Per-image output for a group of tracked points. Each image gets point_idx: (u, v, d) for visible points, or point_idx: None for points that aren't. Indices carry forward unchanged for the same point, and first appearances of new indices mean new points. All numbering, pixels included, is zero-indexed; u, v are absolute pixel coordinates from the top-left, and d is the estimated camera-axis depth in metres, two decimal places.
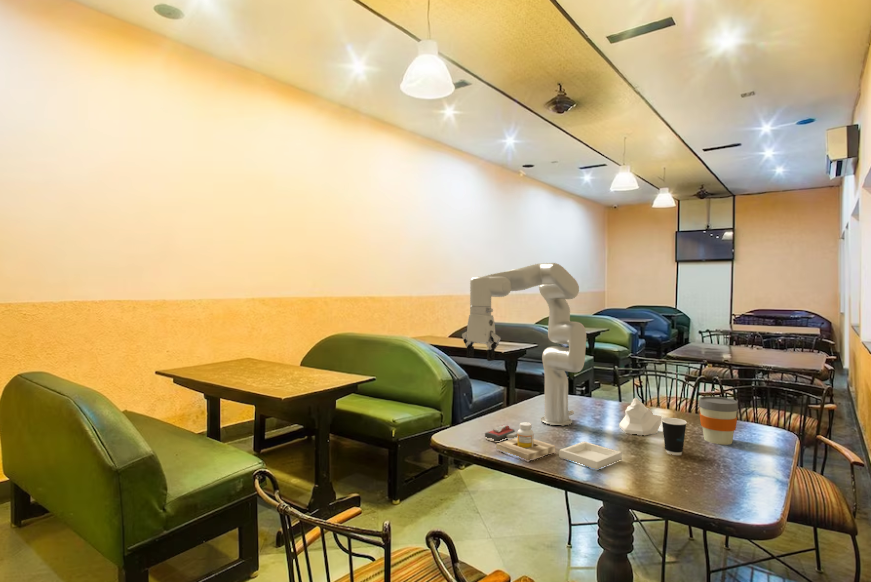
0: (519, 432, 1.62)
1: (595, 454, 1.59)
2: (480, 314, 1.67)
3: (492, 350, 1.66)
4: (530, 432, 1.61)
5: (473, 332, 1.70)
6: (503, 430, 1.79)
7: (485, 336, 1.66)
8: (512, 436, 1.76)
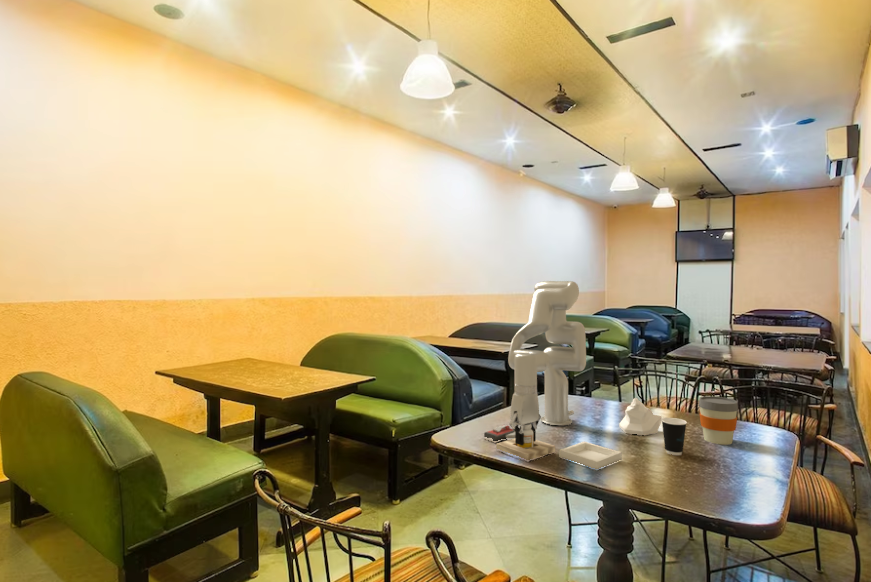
0: None
1: (595, 454, 1.59)
2: (536, 392, 1.63)
3: None
4: (530, 432, 1.61)
5: (528, 413, 1.61)
6: (503, 430, 1.79)
7: (538, 413, 1.64)
8: (511, 436, 1.76)
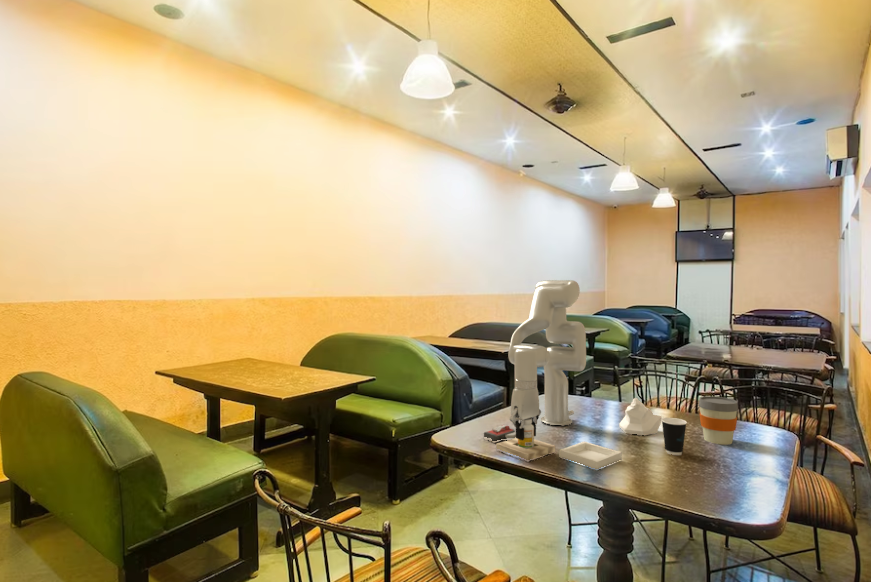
0: None
1: (595, 454, 1.59)
2: (536, 387, 1.63)
3: None
4: (530, 427, 1.62)
5: (528, 408, 1.61)
6: (503, 430, 1.79)
7: (538, 408, 1.65)
8: (511, 436, 1.76)
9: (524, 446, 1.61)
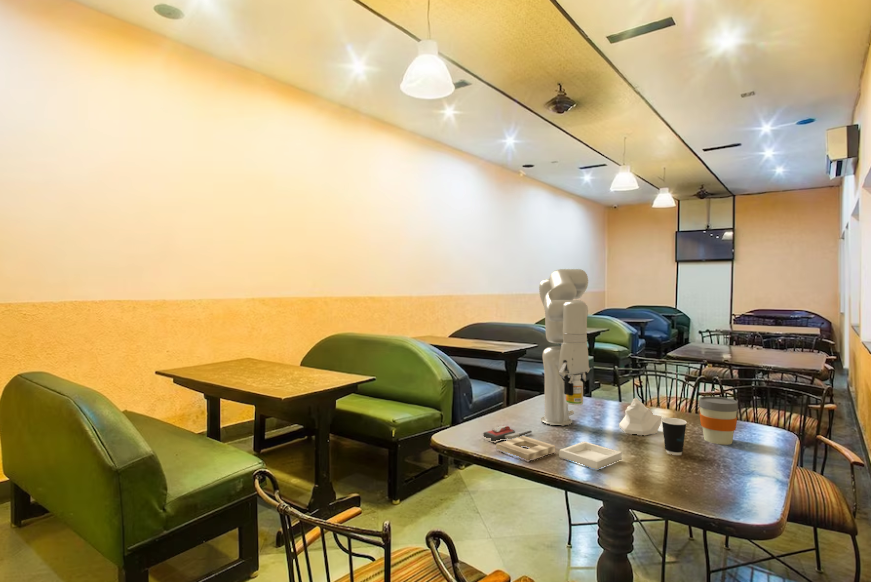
0: None
1: (595, 454, 1.59)
2: (586, 342, 1.57)
3: None
4: (580, 382, 1.56)
5: (578, 362, 1.55)
6: (502, 431, 1.78)
7: (587, 364, 1.58)
8: (510, 437, 1.75)
9: (573, 402, 1.55)
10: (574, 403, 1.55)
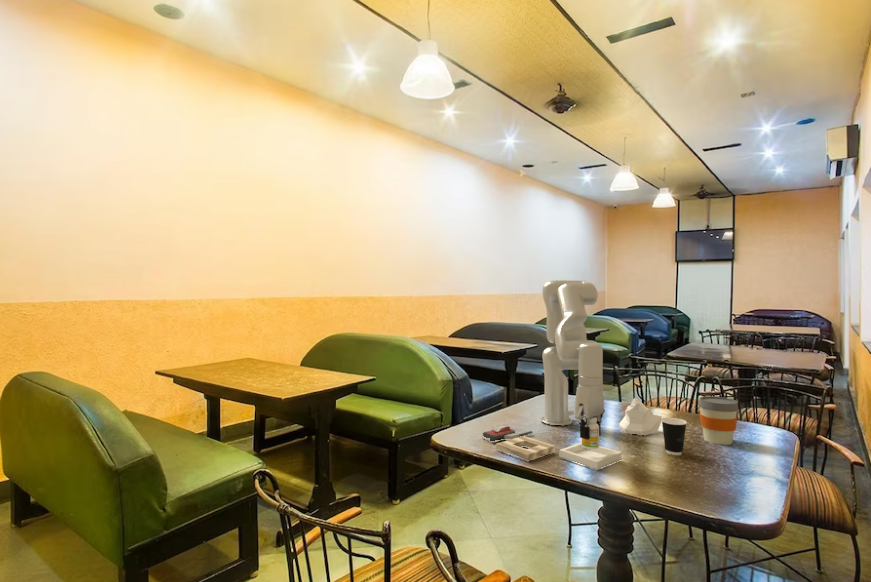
0: None
1: (595, 454, 1.59)
2: None
3: None
4: (596, 426, 1.54)
5: (594, 406, 1.53)
6: (502, 431, 1.78)
7: (603, 406, 1.57)
8: (510, 437, 1.75)
9: (589, 446, 1.54)
10: (590, 447, 1.54)
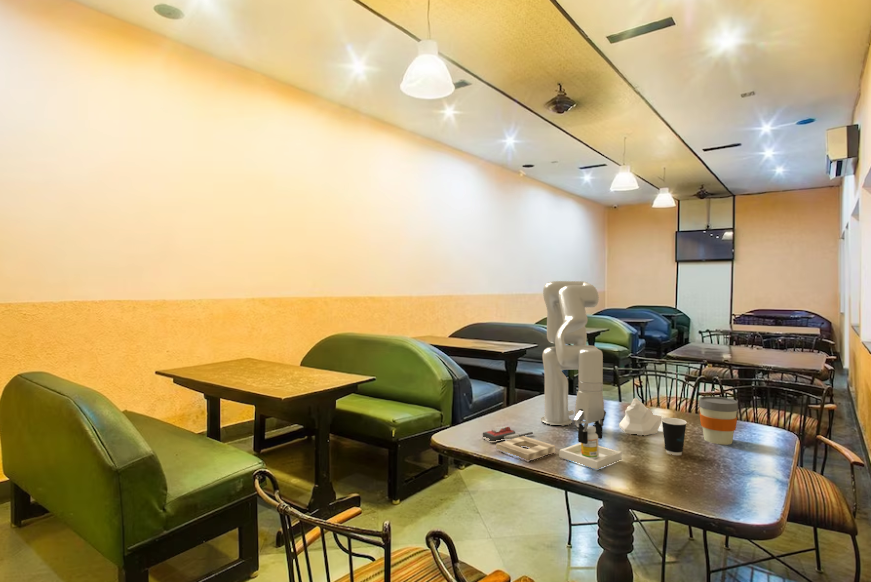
0: None
1: None
2: None
3: None
4: (595, 436, 1.54)
5: (594, 411, 1.53)
6: (502, 431, 1.78)
7: (603, 412, 1.57)
8: (510, 437, 1.75)
9: (589, 456, 1.54)
10: (590, 457, 1.54)
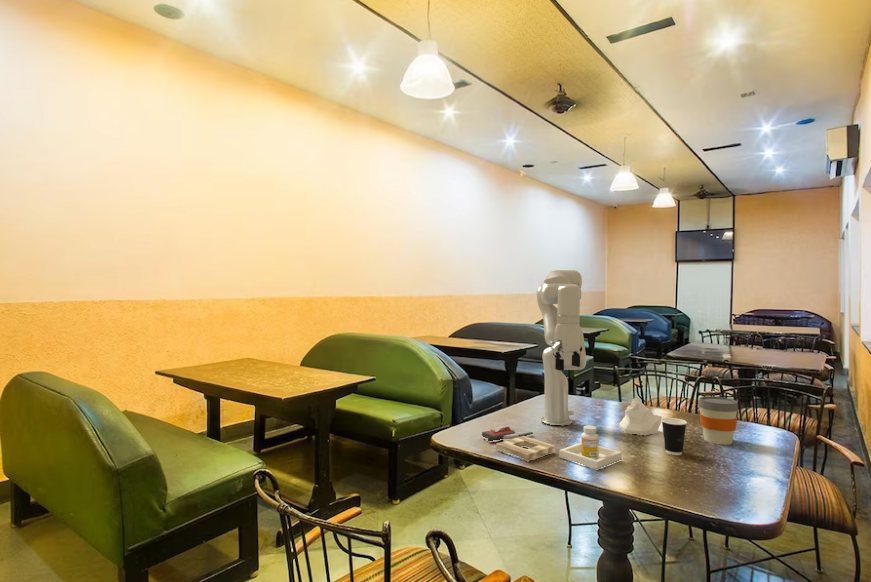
0: (583, 436, 1.55)
1: None
2: None
3: None
4: (595, 436, 1.54)
5: (571, 342, 1.66)
6: (502, 431, 1.78)
7: (579, 343, 1.70)
8: (509, 437, 1.75)
9: (589, 456, 1.54)
10: (590, 457, 1.54)
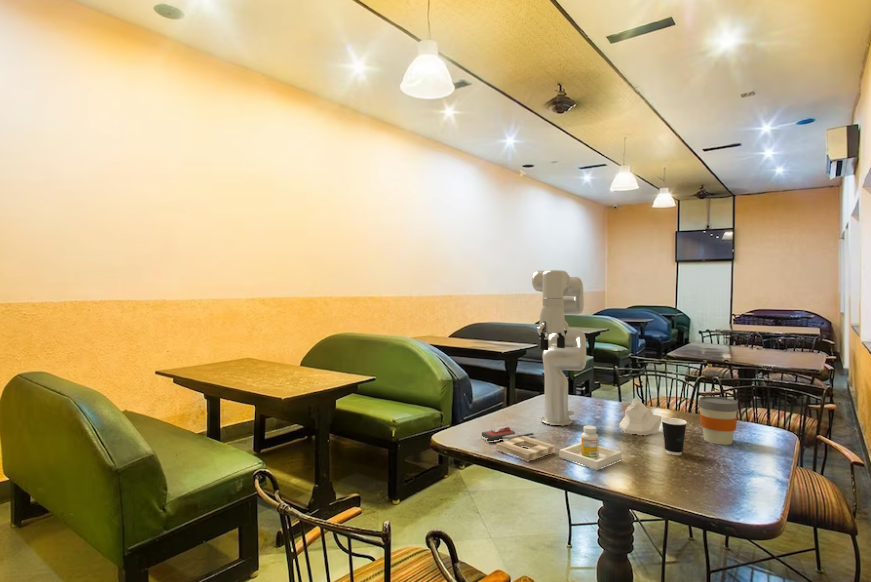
0: (583, 436, 1.55)
1: None
2: (563, 306, 1.78)
3: None
4: (595, 436, 1.54)
5: (556, 324, 1.76)
6: (502, 431, 1.78)
7: (564, 326, 1.80)
8: (508, 438, 1.74)
9: (589, 456, 1.54)
10: (590, 457, 1.54)
